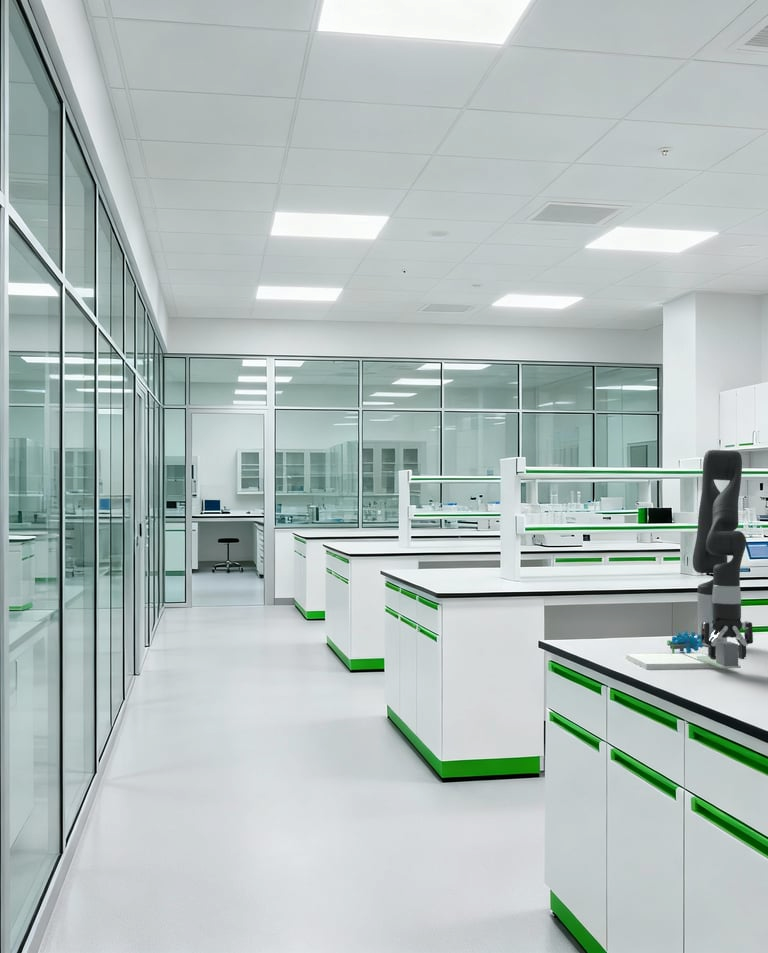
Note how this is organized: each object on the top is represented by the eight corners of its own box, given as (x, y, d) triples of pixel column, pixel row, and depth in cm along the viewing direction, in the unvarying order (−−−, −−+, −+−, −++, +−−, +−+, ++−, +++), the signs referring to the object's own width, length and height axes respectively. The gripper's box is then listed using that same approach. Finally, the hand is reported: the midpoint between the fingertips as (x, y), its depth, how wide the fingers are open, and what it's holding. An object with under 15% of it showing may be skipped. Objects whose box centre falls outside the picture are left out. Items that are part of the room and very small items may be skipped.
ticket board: (626, 659, 264) (626, 653, 264) (701, 658, 266) (701, 653, 266) (646, 669, 248) (646, 663, 248) (726, 668, 250) (726, 662, 250)
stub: (696, 658, 257) (696, 635, 257) (714, 657, 257) (713, 635, 257) (722, 668, 241) (721, 644, 241) (740, 668, 241) (740, 644, 241)
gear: (705, 647, 276) (701, 628, 270) (707, 663, 272) (703, 643, 266) (669, 650, 280) (664, 631, 274) (670, 665, 276) (665, 646, 270)
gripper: (744, 599, 248) (744, 656, 248) (696, 599, 247) (696, 657, 247) (757, 602, 241) (758, 661, 240) (708, 602, 240) (708, 661, 239)
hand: (727, 659), depth 243 cm, fingers open, 8 cm apart
